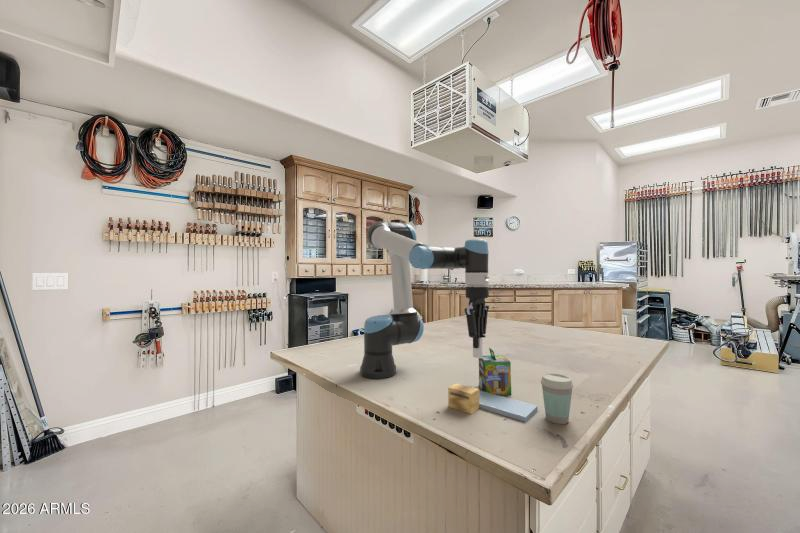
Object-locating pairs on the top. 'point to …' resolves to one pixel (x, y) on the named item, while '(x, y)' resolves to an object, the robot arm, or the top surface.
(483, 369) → the chalk box
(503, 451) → the top surface
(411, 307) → the robot arm
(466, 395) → the tan rectangular block
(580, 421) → the top surface
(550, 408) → the coffee cup
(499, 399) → the board
